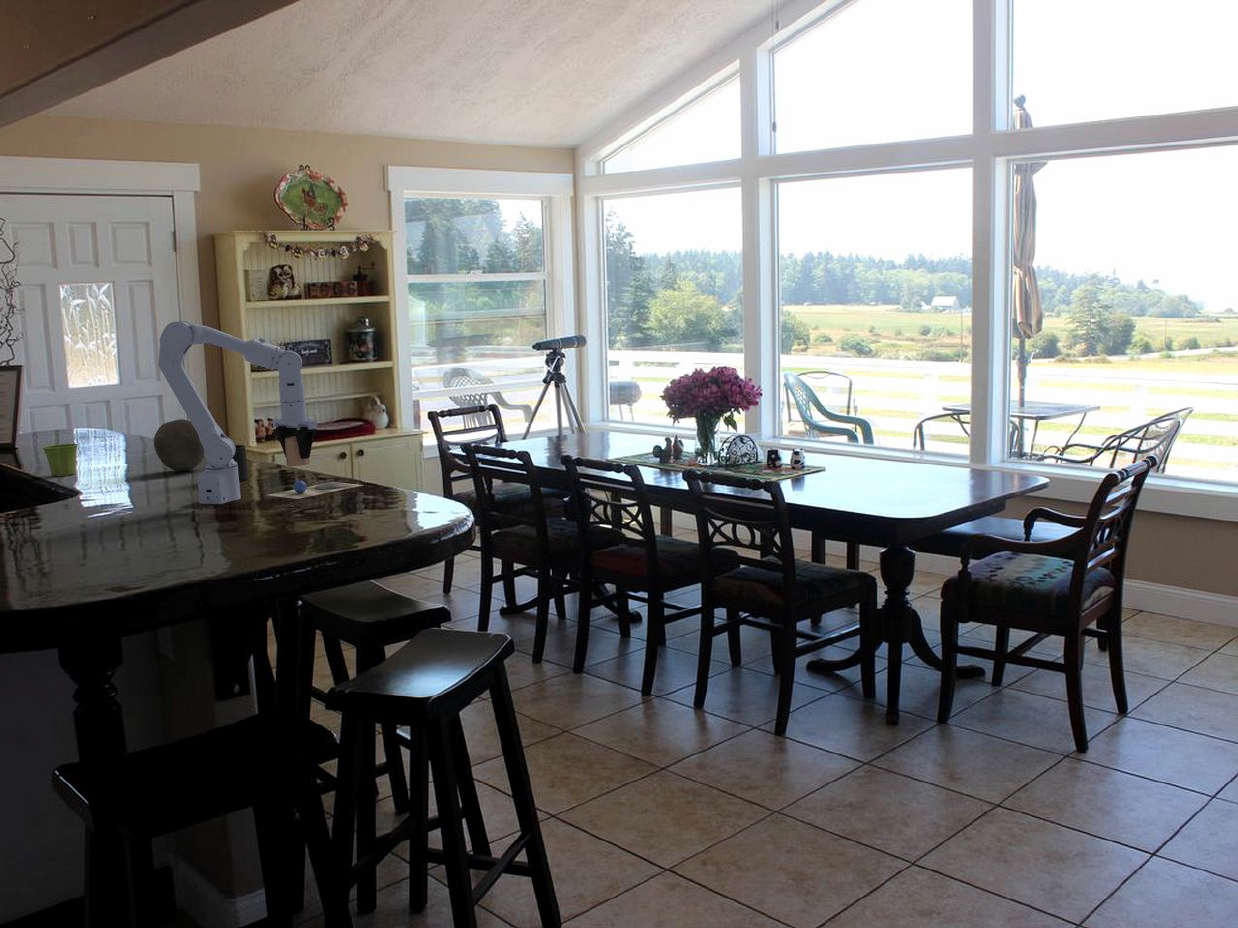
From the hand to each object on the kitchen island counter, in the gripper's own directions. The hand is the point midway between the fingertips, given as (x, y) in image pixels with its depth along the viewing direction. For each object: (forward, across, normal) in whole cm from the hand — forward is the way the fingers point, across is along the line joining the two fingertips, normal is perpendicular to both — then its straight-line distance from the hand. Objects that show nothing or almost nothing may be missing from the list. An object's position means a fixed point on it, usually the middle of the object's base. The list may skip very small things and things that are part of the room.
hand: (297, 457), depth 281 cm
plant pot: (+10, +102, +6) cm, 103 cm away
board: (+10, 0, -4) cm, 11 cm away
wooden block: (+2, 0, 0) cm, 2 cm away
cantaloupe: (+10, +71, -13) cm, 72 cm away
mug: (+10, +43, -9) cm, 45 cm away
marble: (+7, 0, 0) cm, 7 cm away
